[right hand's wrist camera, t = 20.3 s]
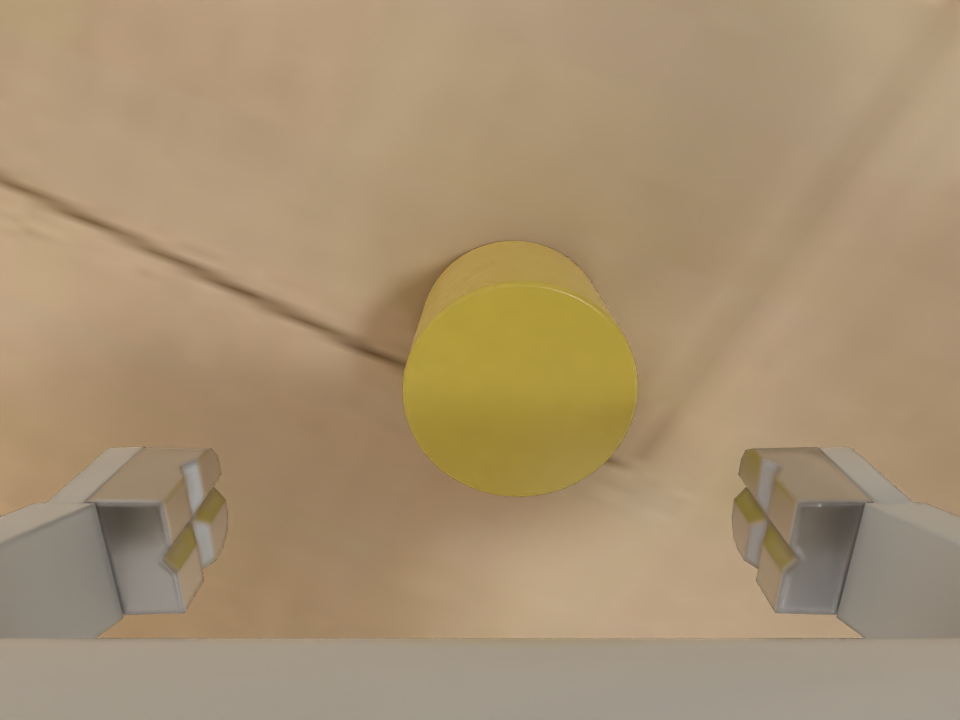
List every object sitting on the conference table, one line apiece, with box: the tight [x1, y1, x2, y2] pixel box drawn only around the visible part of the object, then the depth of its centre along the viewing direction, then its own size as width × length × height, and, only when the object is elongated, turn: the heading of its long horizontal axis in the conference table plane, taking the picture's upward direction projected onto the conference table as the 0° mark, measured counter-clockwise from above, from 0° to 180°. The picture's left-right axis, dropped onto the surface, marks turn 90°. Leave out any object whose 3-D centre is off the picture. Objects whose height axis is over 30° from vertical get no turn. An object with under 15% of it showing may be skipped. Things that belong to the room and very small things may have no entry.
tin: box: [402, 241, 638, 497], centre depth 15 cm, size 5×5×4 cm
